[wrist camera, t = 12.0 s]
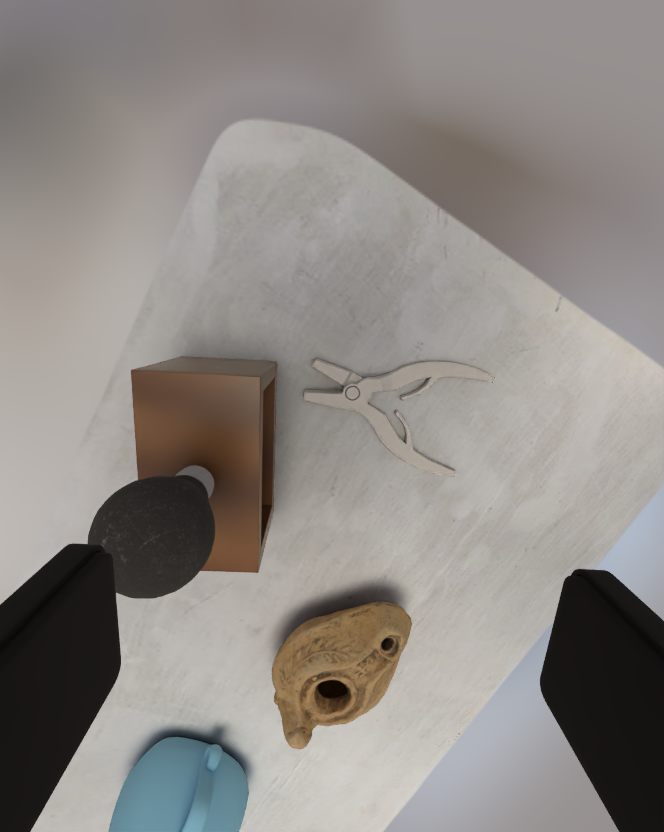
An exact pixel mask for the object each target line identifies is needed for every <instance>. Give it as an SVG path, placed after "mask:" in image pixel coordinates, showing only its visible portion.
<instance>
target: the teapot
mask: <svg viewBox="0 0 664 832" xmlns="http://www.w3.org/2000/svg"><path fill="white" fill-rule="evenodd" d="M248 794H249V789H248V783H247V779H246V776H245V774H244V771H243V769H242V767H241V766H240V764H239V763H238V762H237V761H236V760H235V759H233V758H232V757H231V756H229V755H228V754H226V753H225V752H223V750H222V748H221V747H220V746H219V745H217V744H214V745H210V744H207V743H204V742H201V741H197V740H193V739H188V738H182V737H169V738H165V739H162V740H161V741H159V742H158V743H157V744H155V745H154V746H153V747H152V748H151V749H150V750H149V751H148V752H147V753H146V754H145V755H144V756H143V757H142V758H141V759H140V760H139V761H138V762H137V763H136V765H135V766H134V768H133V769H132V770H131V772H130V773H129V775H128V777H127V778H126V780H125V782H124V785H123V787H122V789H121V792H120V794H119V797H118V800H117V803H116V806H115V809H114V812H113V816H112V819H111V823H110V828H109V832H239V829H240V827H241V824H242V821H243V817H244V814H245V810H246V806H247V800H248Z"/></svg>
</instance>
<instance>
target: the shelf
mask: <svg viewBox="0 0 664 832" xmlns="http://www.w3.org/2000/svg"><path fill="white" fill-rule="evenodd" d="M131 378H132V393H133V408H134V424H135V439H136V454H137V469H138V480H140V479H145V478H149V477H156V476H167V477H174V476H176V474H177V473H179V472H180V471H181V470H183V469H184V468H186V467H188V466H194V465H196V466H201V467H203V468H205V469H206V470H208V471H209V472H210V473H211V475H212V476H213V479H214V489H213V492H212V494H211V496H210V498H209V503H210V506H211V509H212V512H213V514H214V519H215V539H214V543H213V547H212V551H211V554H210V556H209V558H208V560H207V562H206V563H205V565H204V567H203V568H202V569H201V570H200V571H226V572H254V573H258V572H259V568H260V564H261V560H262V556H263V552H264V548H265V544H266V540H267V536H268V532H269V528H270V524H271V520H272V516H273V512H274V470H275V425H276V381H277V362H276V361H259V360H240V359H222V358H203V357H184V356H181V357H178V358H174V359H171V360H167V361H163V362H160V363H156V364H152V365H149V366H145V367H141V368H137V369H133V370H131Z"/></svg>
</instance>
